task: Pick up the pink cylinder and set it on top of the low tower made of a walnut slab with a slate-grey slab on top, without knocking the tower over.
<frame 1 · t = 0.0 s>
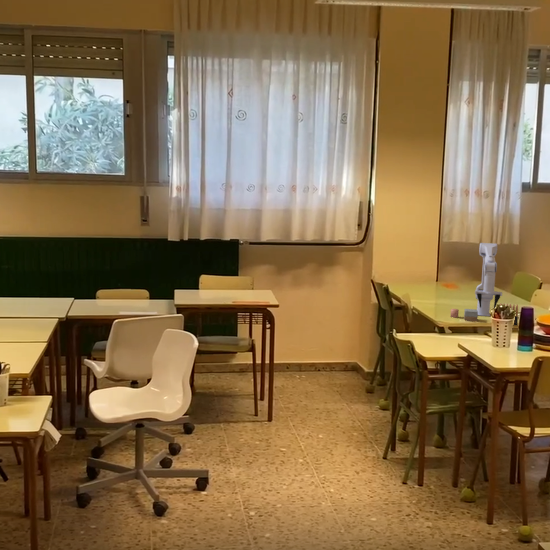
hand: (487, 307, 389), 10 cm above the table, tool pointing down, fingers open, 7 cm apart
pink cylinder: (454, 317, 409), on the table
tower top: (470, 315, 402), point 3 cm above the table, touching tower base
ammunition clip: (507, 324, 393), on the table
tower base: (470, 320, 403), on the table, touching tower top
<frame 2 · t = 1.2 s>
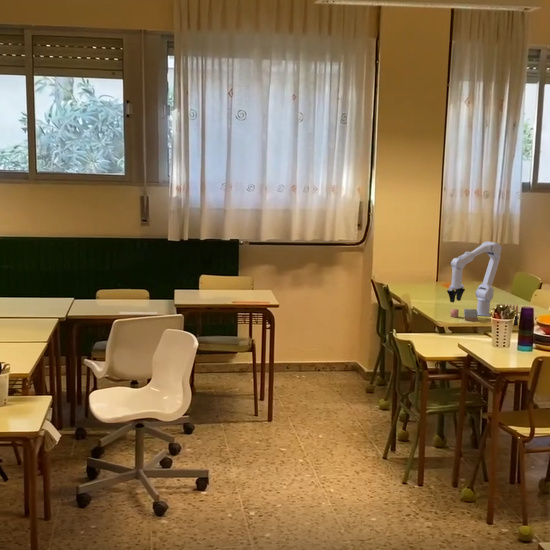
hand: (455, 301, 408), 9 cm above the table, tool pointing down, fingers open, 7 cm apart
nothing on the table moved.
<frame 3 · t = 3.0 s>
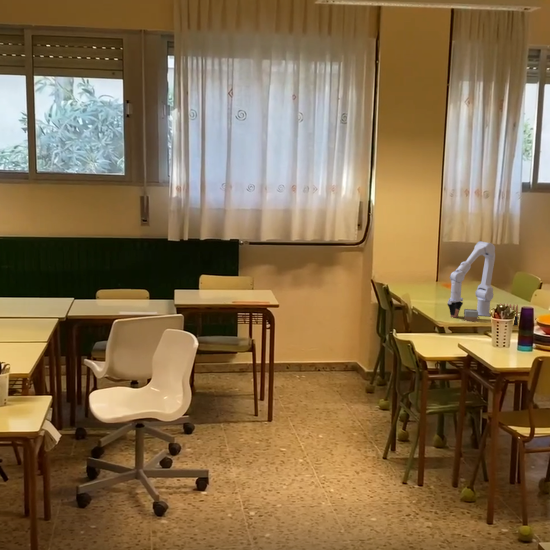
hand: (454, 314, 409), 1 cm above the table, tool pointing down, fingers closed on pink cylinder, 4 cm apart
pink cylinder: (454, 316, 409), on the table, touching gripper
tower top: (470, 315, 402), point 3 cm above the table
tower base: (470, 320, 403), on the table
everything else where it was.
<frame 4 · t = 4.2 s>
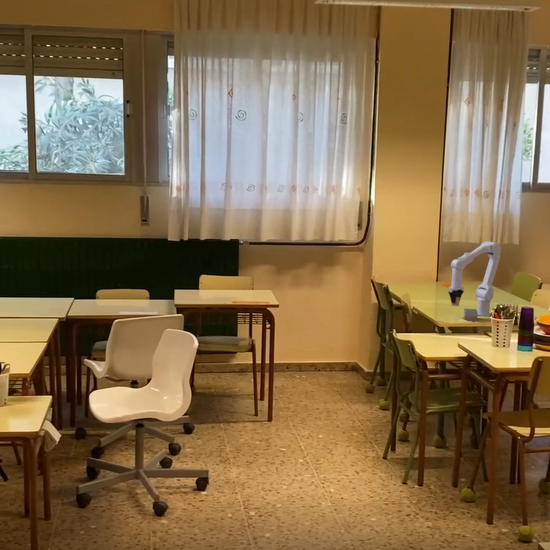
hand: (455, 302, 408), 9 cm above the table, tool pointing down, fingers closed on pink cylinder, 4 cm apart
pink cylinder: (455, 305, 408), point 7 cm above the table, touching gripper
tower top: (470, 315, 402), point 3 cm above the table, touching tower base
tower base: (470, 320, 403), on the table, touching tower top
everything else where it was.
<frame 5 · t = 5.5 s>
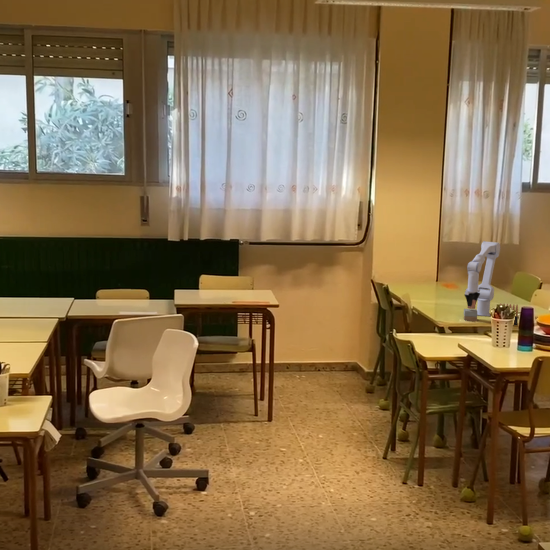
hand: (471, 305, 401), 8 cm above the table, tool pointing down, fingers closed on pink cylinder, 4 cm apart
pink cylinder: (471, 308, 401), point 7 cm above the table, touching gripper
everything else where it was.
when the fingers open (8 cm above the table, at t = 6.3 s): pink cylinder drops 1 cm, point 6 cm above the table.
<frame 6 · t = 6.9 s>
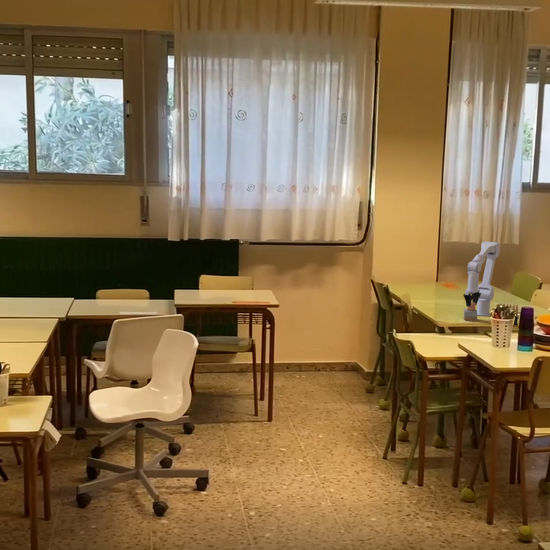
hand: (471, 305, 401), 8 cm above the table, tool pointing down, fingers open, 7 cm apart
pink cylinder: (471, 310, 402), point 6 cm above the table
everything else where it was.
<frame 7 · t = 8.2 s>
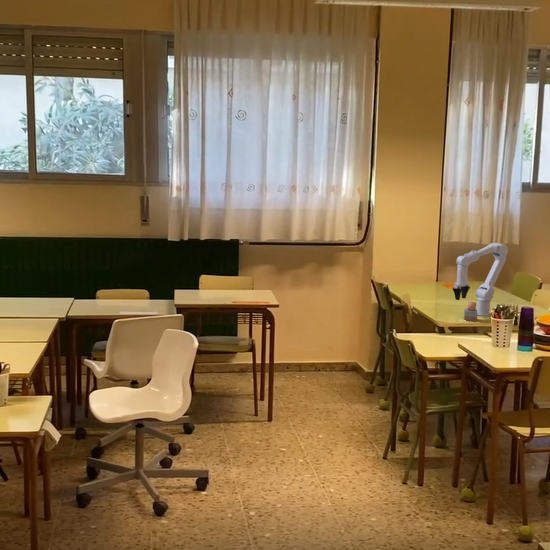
hand: (460, 299, 410), 10 cm above the table, tool pointing down, fingers open, 7 cm apart
pink cylinder: (471, 310, 401), point 6 cm above the table, tilted 6°, touching tower top
tower top: (470, 315, 402), point 3 cm above the table, touching pink cylinder, tower base
everything else where it was.
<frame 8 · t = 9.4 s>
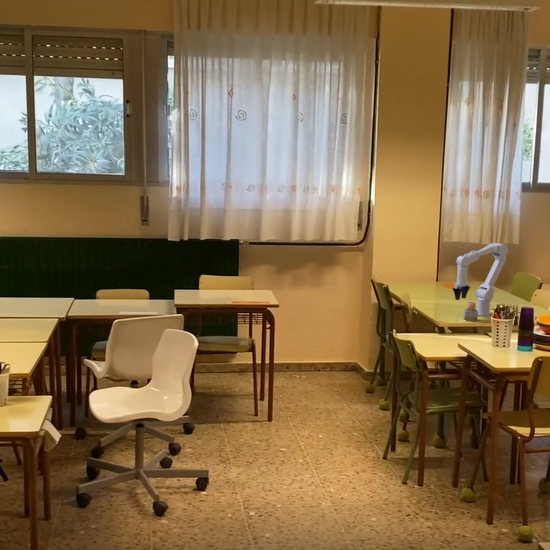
hand: (460, 299, 410), 10 cm above the table, tool pointing down, fingers open, 7 cm apart
pink cylinder: (471, 310, 401), point 6 cm above the table, touching tower top
everything else where it was.
at the end: pink cylinder 0.1 cm off-centre on the tower top, point 3.0 cm above the tower top's base; tower top moved 0.5 cm from its start; pink cylinder tilted 0° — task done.
